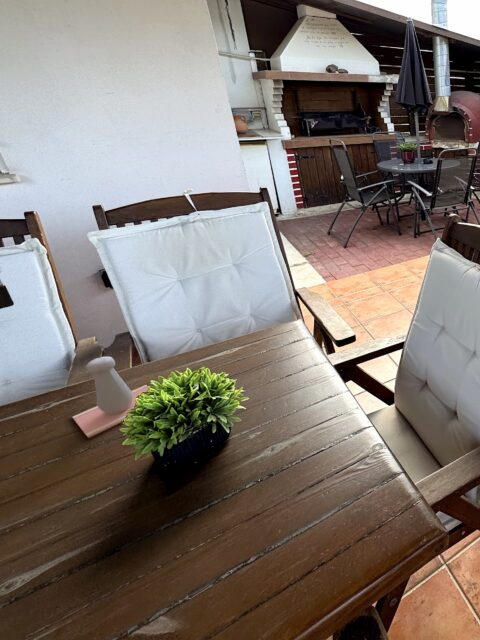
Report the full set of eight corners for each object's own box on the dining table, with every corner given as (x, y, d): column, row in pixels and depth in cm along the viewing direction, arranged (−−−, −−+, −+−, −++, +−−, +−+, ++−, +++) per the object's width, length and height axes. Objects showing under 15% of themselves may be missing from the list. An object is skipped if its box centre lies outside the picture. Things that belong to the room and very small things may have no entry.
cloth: (88, 438, 83) (87, 436, 83) (72, 418, 89) (71, 416, 88) (164, 402, 93) (164, 400, 93) (146, 385, 99) (145, 384, 99)
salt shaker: (140, 405, 92) (121, 357, 87) (106, 421, 87) (84, 371, 83) (130, 396, 95) (111, 349, 90) (98, 411, 90) (76, 362, 85)
